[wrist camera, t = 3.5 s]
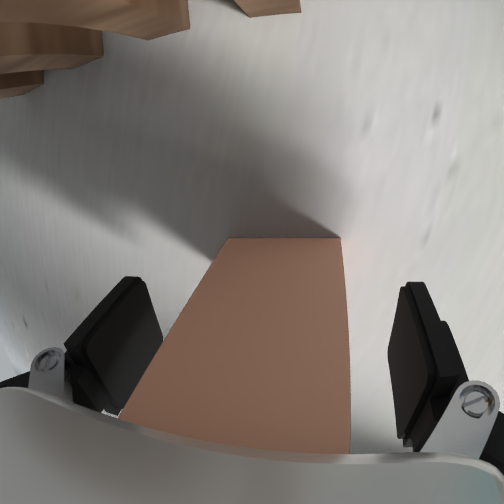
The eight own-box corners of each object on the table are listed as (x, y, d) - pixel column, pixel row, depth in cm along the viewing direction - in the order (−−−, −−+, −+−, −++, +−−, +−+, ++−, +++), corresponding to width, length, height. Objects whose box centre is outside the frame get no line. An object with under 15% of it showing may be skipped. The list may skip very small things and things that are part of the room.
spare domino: (227, 238, 14) (111, 429, 6) (340, 237, 13) (348, 468, 4) (233, 275, 15) (142, 466, 6) (339, 277, 14) (336, 498, 5)
